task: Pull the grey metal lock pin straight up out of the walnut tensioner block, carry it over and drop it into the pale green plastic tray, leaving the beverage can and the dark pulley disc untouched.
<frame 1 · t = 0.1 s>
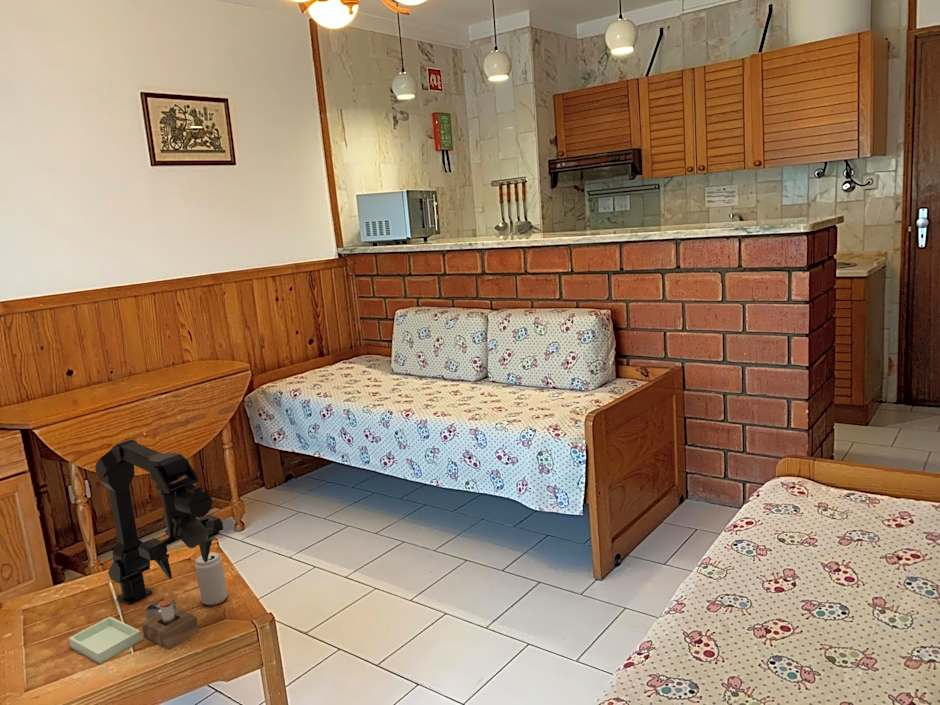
hand: (188, 569, 177), 15 cm above the table, tool pointing down, fingers open, 9 cm apart
beverage can: (215, 601, 191), on the table
tray: (106, 643, 175), on the table
tensioner block: (171, 634, 176), on the table
lock pin: (168, 617, 175), in the tensioner block
pulley: (162, 615, 185), on the table
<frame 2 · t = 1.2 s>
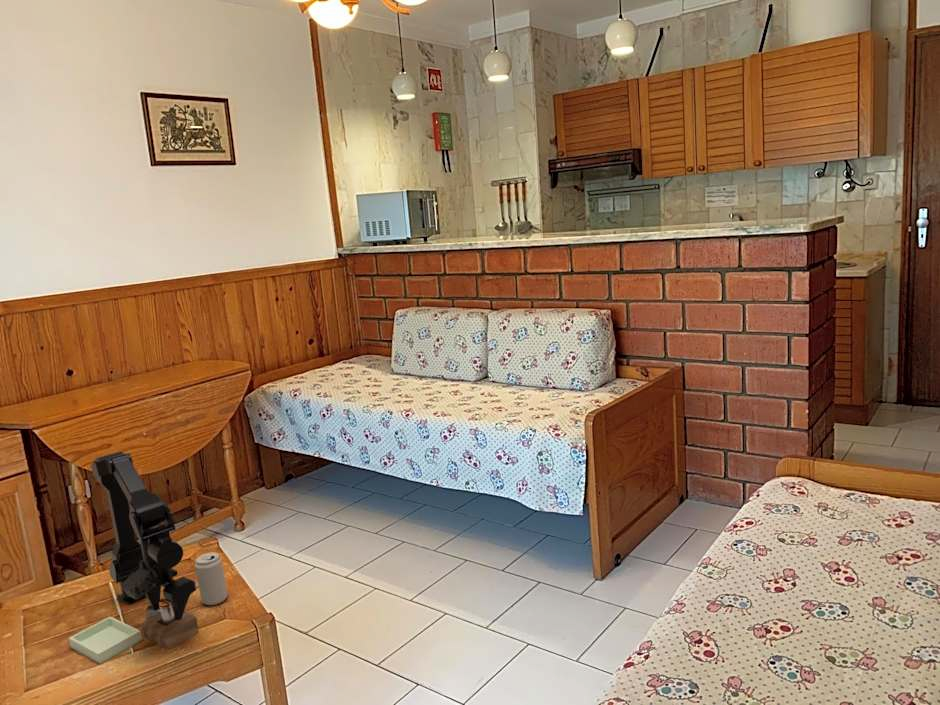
hand: (167, 614, 175), 5 cm above the table, tool pointing down, fingers open, 9 cm apart
nothing on the table moved.
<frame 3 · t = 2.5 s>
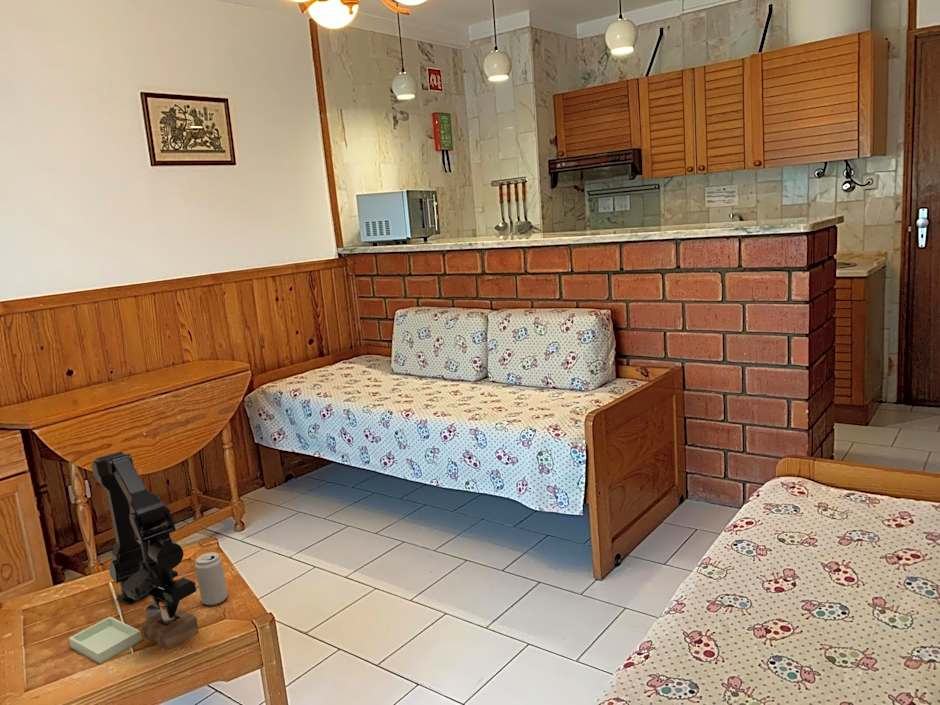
hand: (168, 615, 175), 5 cm above the table, tool pointing down, fingers closed on lock pin, 3 cm apart
lock pin: (168, 617, 175), in the tensioner block, touching gripper
everything else where it was.
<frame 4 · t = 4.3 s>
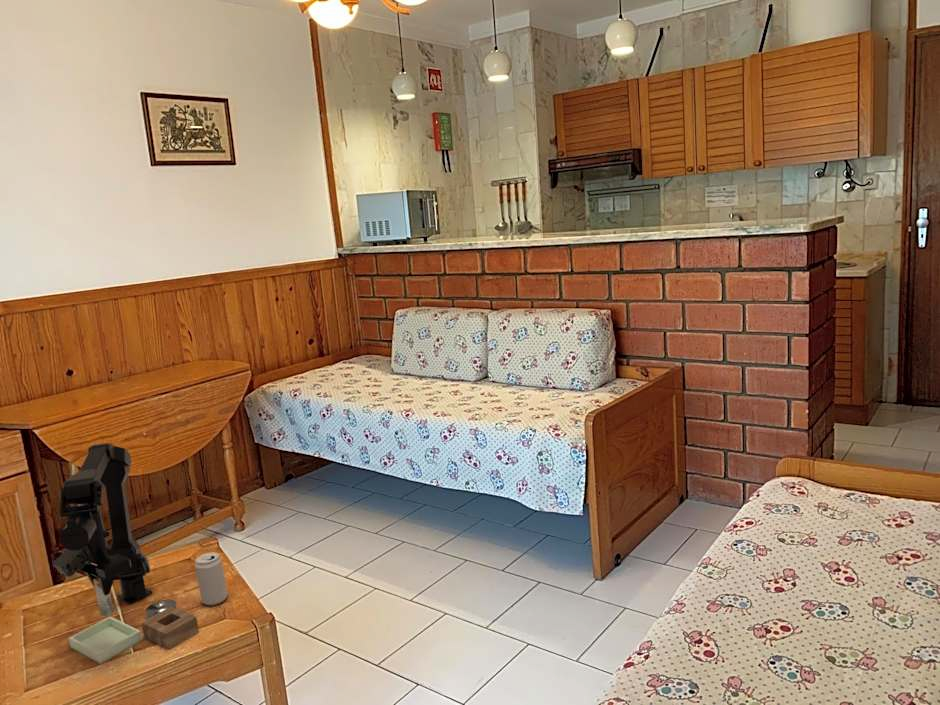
hand: (103, 593, 172), 13 cm above the table, tool pointing down, fingers closed on lock pin, 3 cm apart
lock pin: (103, 595, 172), point 12 cm above the table, touching gripper
everything else where it was.
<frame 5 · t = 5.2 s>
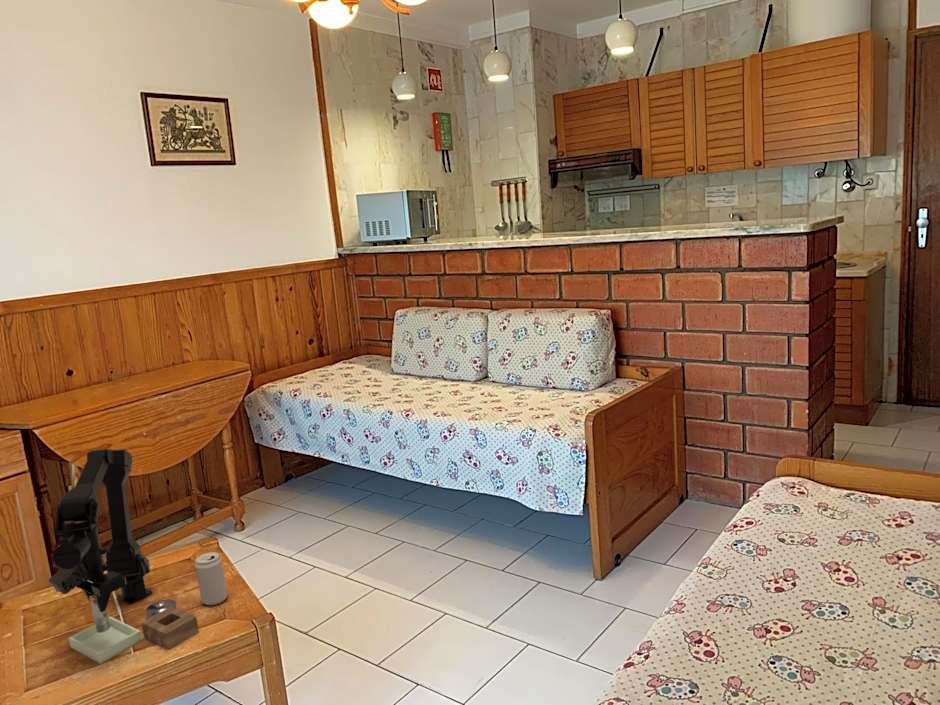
hand: (99, 609, 173), 9 cm above the table, tool pointing down, fingers closed on lock pin, 3 cm apart
lock pin: (99, 611, 173), point 8 cm above the table, touching gripper
everything else where it was.
when the fingers open (7 cm above the table, at t = 6.1 s): lock pin drops 2 cm, resting on tray.
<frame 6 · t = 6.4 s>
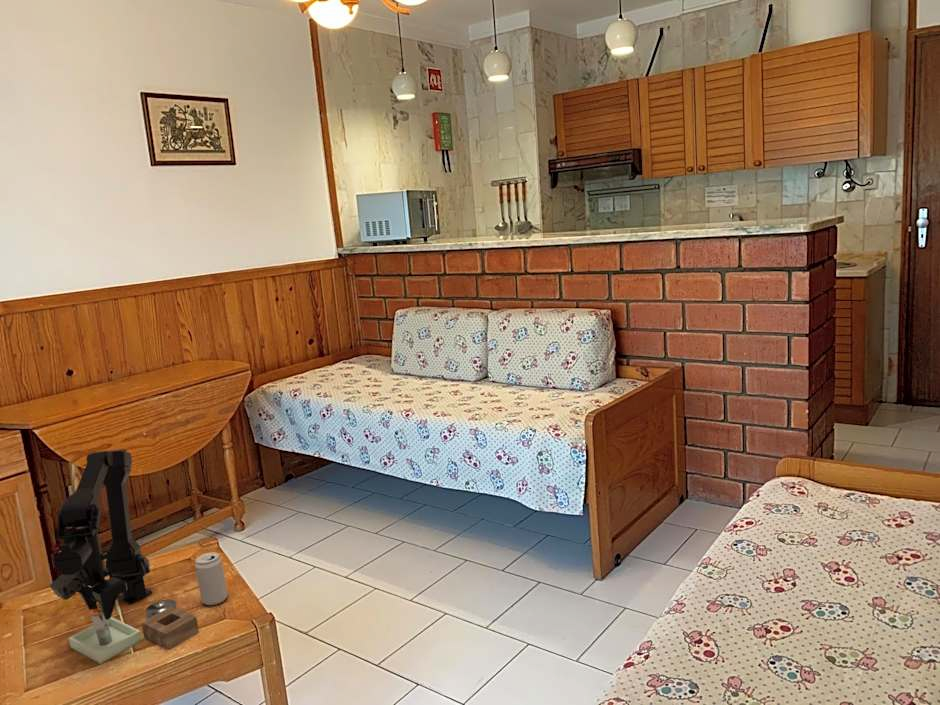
hand: (100, 615, 173), 7 cm above the table, tool pointing down, fingers open, 6 cm apart
lock pin: (101, 625, 173), in the tray
everything else where it was.
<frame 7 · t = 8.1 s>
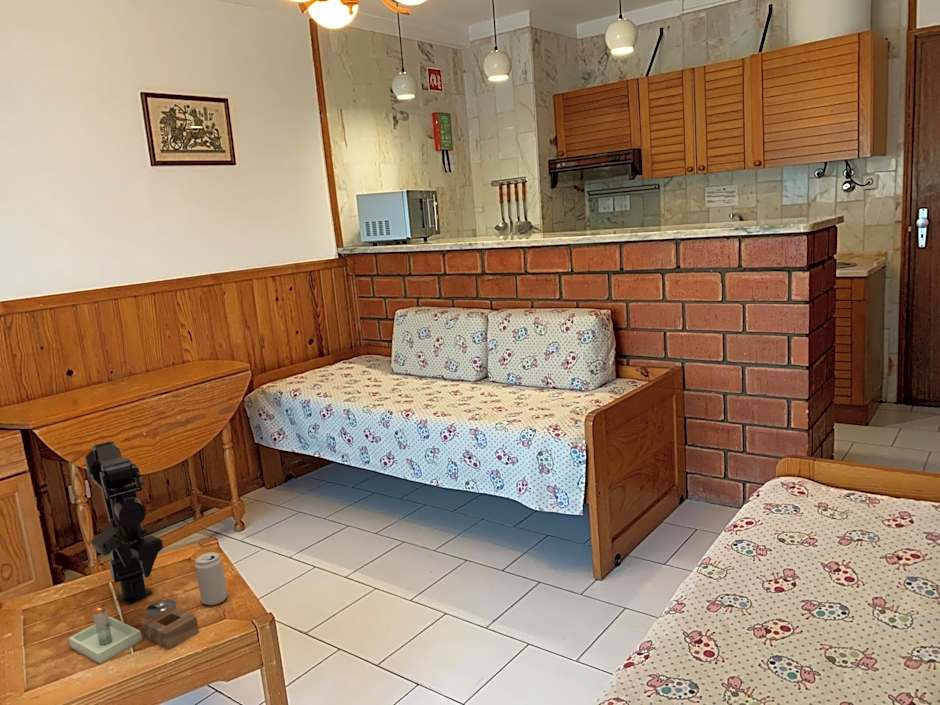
hand: (137, 572, 181), 13 cm above the table, tool pointing down, fingers open, 9 cm apart
nothing on the table moved.
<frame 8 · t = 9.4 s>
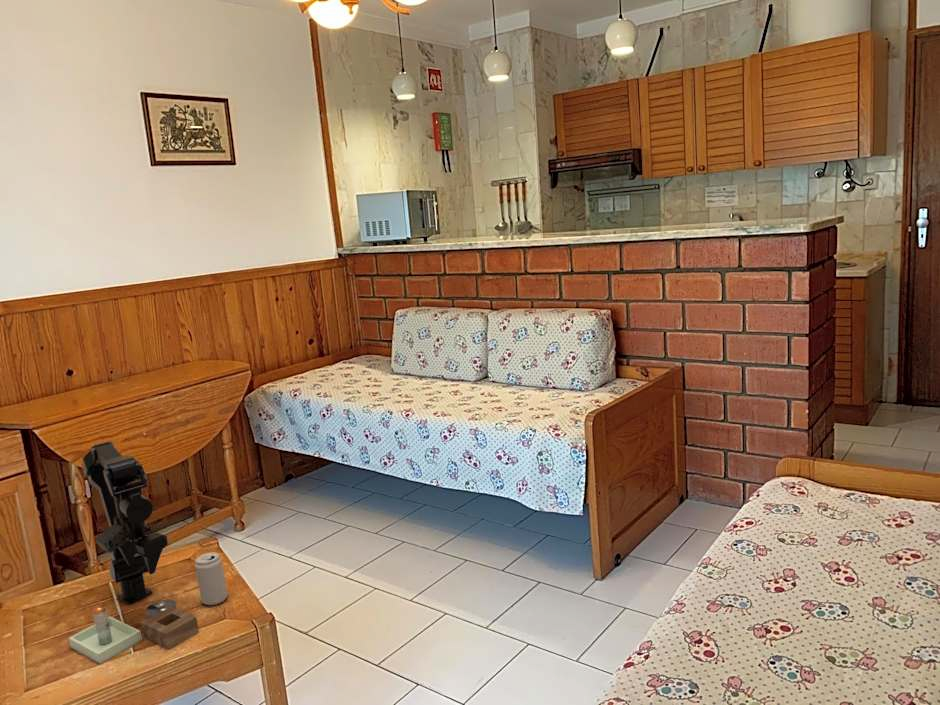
hand: (141, 569, 182), 13 cm above the table, tool pointing down, fingers open, 9 cm apart
nothing on the table moved.
at the end: lock pin inside the target area on the tray (0.0 cm from its centre), point 5.0 cm above the tray's base; the gripper is holding nothing; beverage can moved 0.2 cm from its start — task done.
